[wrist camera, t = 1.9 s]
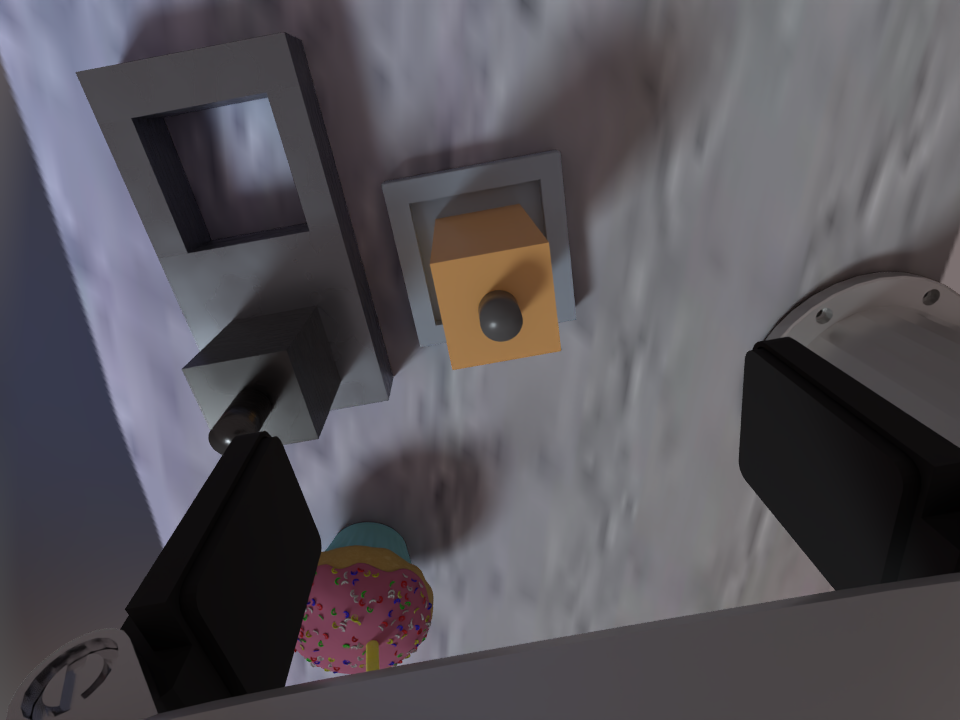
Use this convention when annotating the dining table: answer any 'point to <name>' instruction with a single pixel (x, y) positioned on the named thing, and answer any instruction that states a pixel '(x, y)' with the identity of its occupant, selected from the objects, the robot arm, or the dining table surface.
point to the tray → (471, 191)
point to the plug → (494, 286)
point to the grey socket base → (250, 245)
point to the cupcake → (365, 603)
